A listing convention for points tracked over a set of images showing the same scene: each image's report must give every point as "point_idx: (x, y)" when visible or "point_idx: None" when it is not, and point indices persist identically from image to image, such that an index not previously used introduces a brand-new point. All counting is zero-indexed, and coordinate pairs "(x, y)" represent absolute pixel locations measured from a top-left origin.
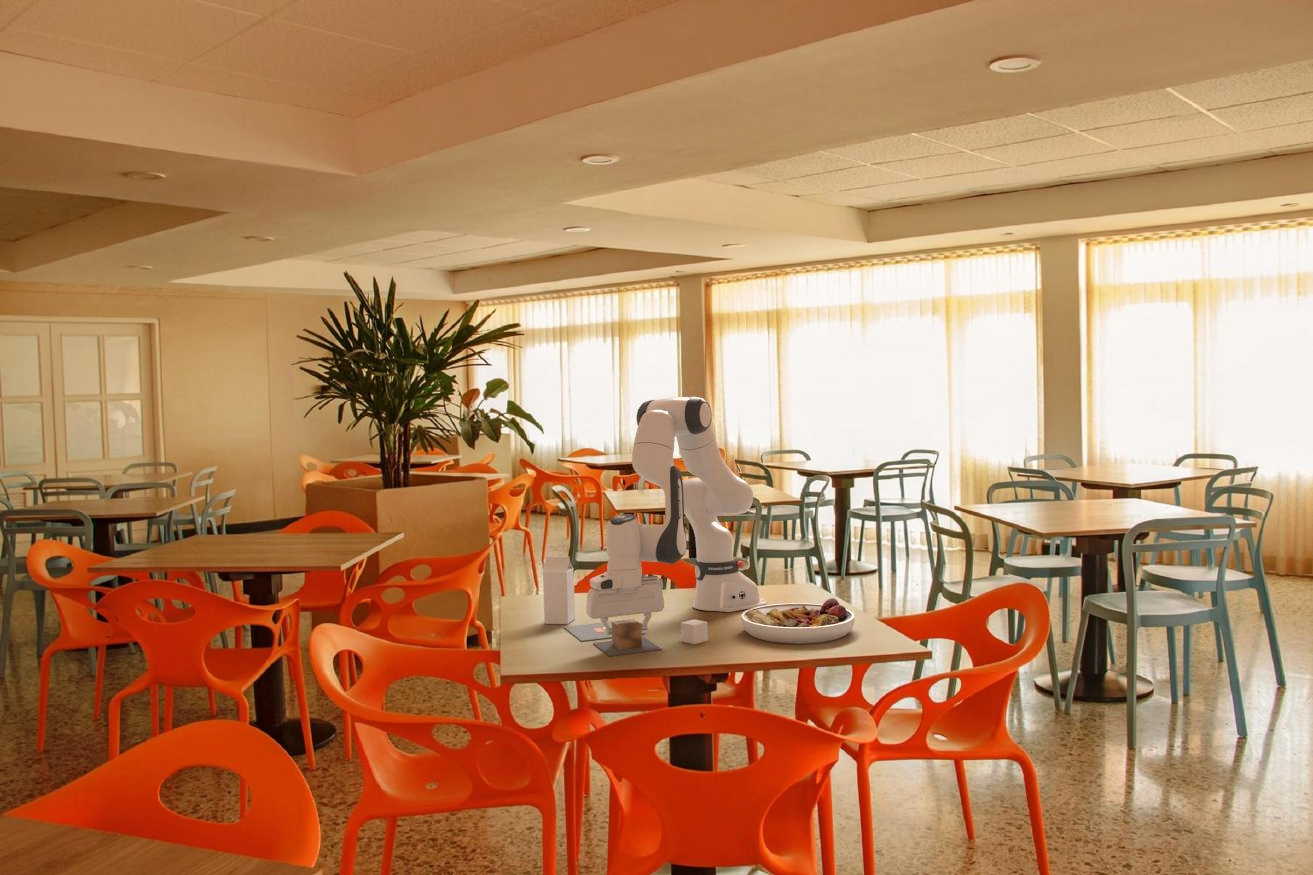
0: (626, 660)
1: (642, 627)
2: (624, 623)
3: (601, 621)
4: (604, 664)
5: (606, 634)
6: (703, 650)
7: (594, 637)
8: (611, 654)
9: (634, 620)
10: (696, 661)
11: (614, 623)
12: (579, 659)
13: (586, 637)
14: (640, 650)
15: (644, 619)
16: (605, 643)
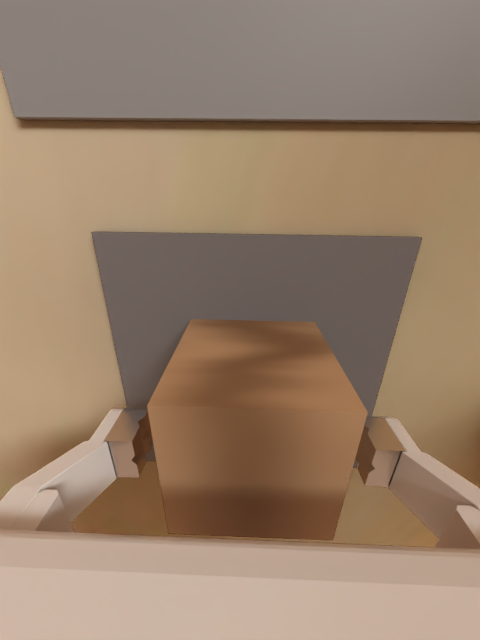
0: None
1: (359, 457)
2: (230, 493)
3: (26, 488)
4: (109, 514)
5: None
6: None
7: (116, 58)
8: (149, 453)
9: (346, 452)
10: None
11: (157, 464)
12: (25, 442)
13: (52, 16)
14: None
15: (426, 479)
16: (161, 278)
